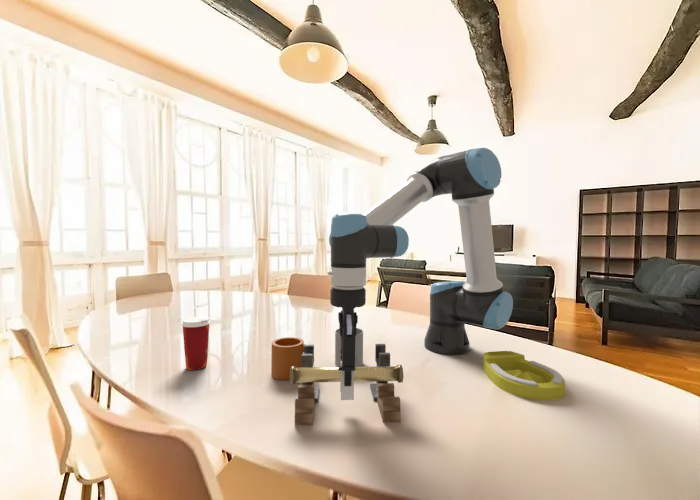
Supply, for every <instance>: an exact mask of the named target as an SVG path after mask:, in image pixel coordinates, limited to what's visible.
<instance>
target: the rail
mask: <svg viewBox="0 0 700 500" xmlns="http://www.w3.org/2000/svg"><path fill="white" fill-rule="evenodd" d="M404 375H405V374H404V368H403V366H402V364H396V365H395V366H393V365H390V366H380V367H377V366H361V367H355V371H354V383H356V382H357V383H359V382H361V383H362V382H363V383H364V382H367V383H368V382H370V383H371V382H377V381H388V382H397V383H403V382H404V378H405V377H404ZM307 382H313V383H340V382H341V370H338V367H337V366H328V367H327V366H321V367H320V366H319V367H318V366H317V367H316V366H313V367H303V368H296V366H291V369H290V380H289V384H290V385H295V384H298V383H300V384H303V383H307Z"/></svg>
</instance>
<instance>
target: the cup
mask: <svg viewBox="0 0 700 500" xmlns="http://www.w3.org/2000/svg"><path fill="white" fill-rule="evenodd" d="M334 333H335V334H334V339H335V340H334V343H335V345H334V365H335V367H341V361H342V360H341V353H340V351H341V336H340V330H339V328H337V329H335V331H334ZM363 364H364V330H363V329H362V328H359V327H356V336H355V367H363Z"/></svg>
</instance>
